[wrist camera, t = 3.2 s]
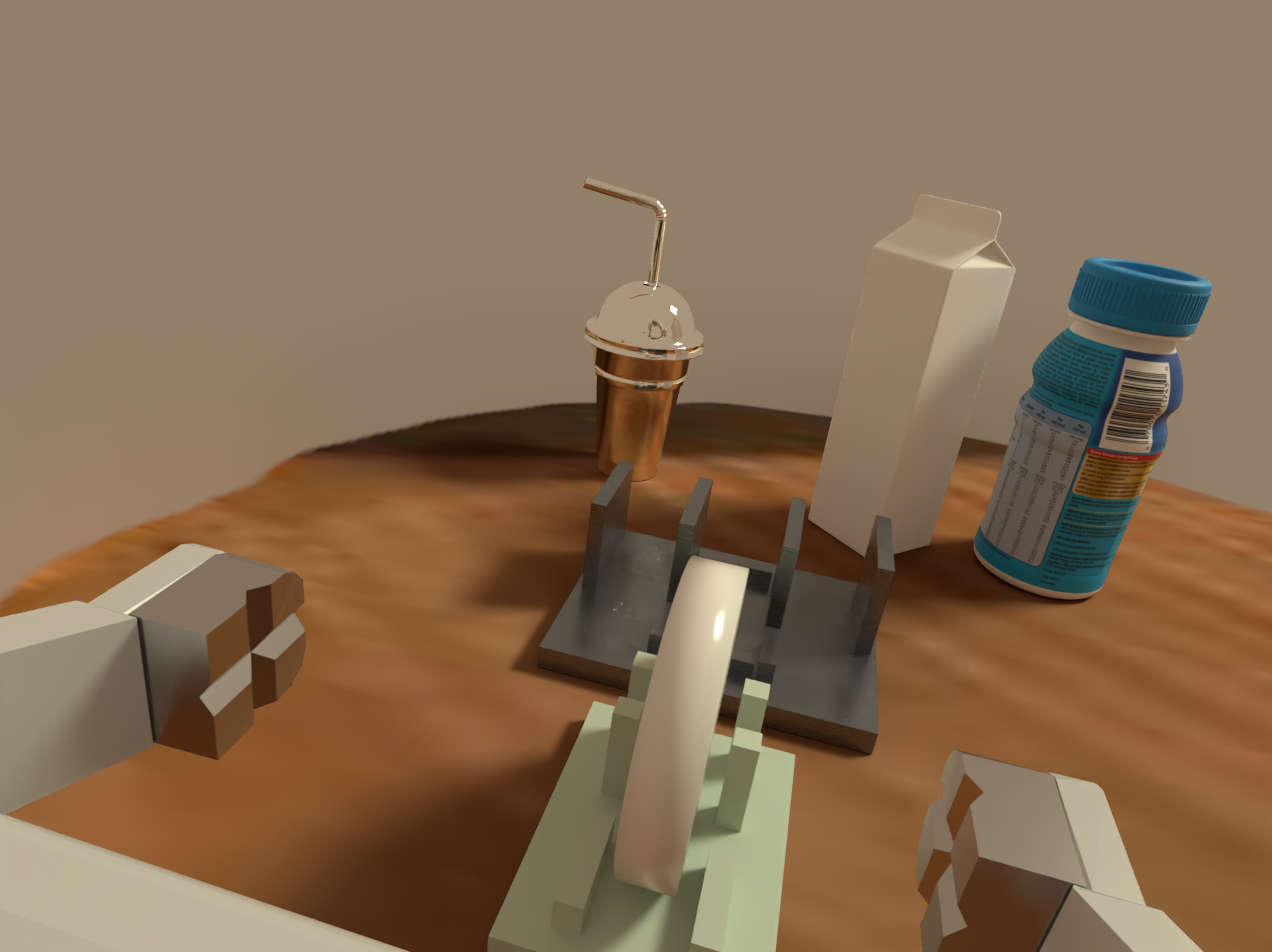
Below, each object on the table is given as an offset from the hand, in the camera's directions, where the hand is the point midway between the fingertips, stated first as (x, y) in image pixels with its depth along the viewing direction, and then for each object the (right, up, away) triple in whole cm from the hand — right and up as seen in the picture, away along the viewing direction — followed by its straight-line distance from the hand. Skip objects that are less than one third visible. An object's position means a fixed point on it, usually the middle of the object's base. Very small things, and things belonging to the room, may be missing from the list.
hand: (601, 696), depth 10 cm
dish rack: (+5, -6, +35) cm, 36 cm away
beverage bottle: (+27, -4, +46) cm, 54 cm away
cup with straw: (-1, +3, +53) cm, 53 cm away
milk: (+16, -1, +48) cm, 51 cm away
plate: (+1, -11, +21) cm, 24 cm away
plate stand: (+1, -11, +22) cm, 25 cm away
